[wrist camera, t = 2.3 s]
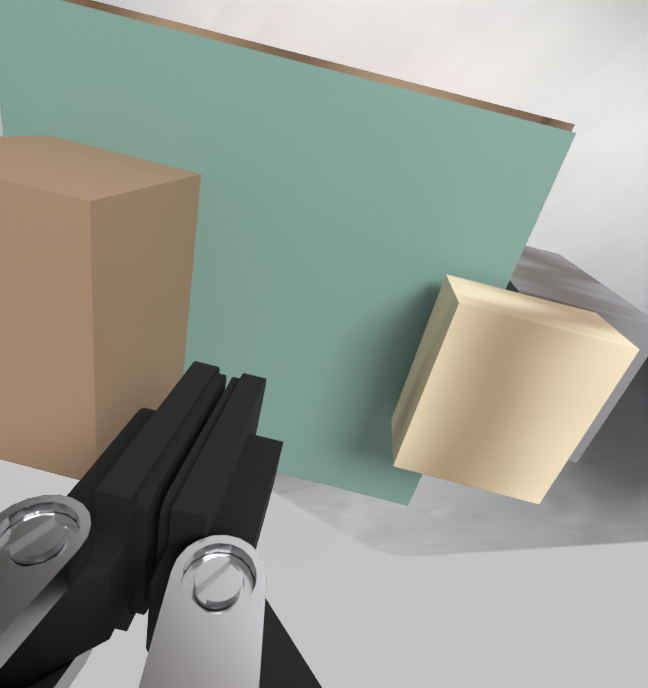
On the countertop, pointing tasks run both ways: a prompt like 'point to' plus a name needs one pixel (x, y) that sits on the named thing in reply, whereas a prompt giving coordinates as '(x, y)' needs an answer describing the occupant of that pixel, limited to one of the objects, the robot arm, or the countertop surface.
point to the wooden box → (534, 264)
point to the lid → (234, 235)
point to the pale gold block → (504, 388)
